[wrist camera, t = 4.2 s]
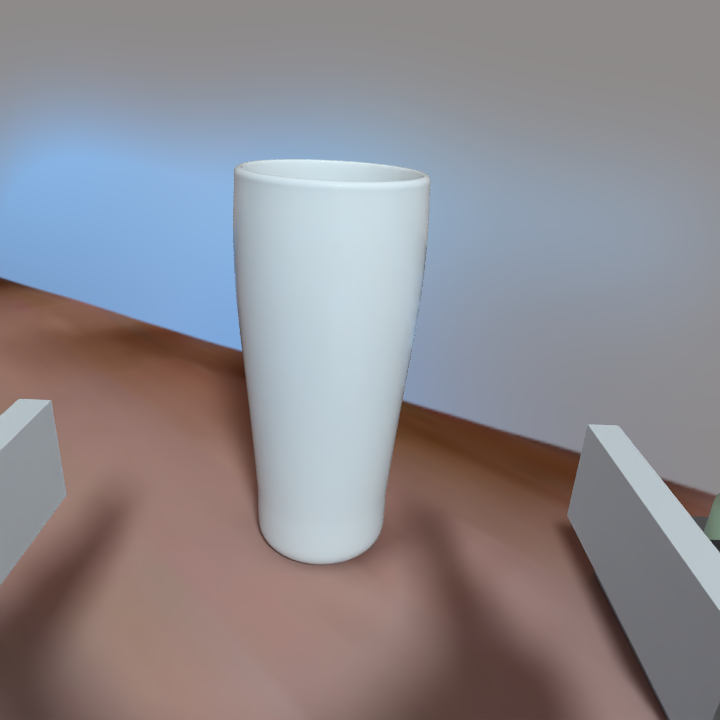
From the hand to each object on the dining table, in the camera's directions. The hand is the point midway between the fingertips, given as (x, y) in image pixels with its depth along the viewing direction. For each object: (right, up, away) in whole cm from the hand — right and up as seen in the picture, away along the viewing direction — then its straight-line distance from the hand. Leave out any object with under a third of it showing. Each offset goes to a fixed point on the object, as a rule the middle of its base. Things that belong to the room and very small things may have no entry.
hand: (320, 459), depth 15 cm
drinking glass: (-1, -5, +11) cm, 12 cm away
